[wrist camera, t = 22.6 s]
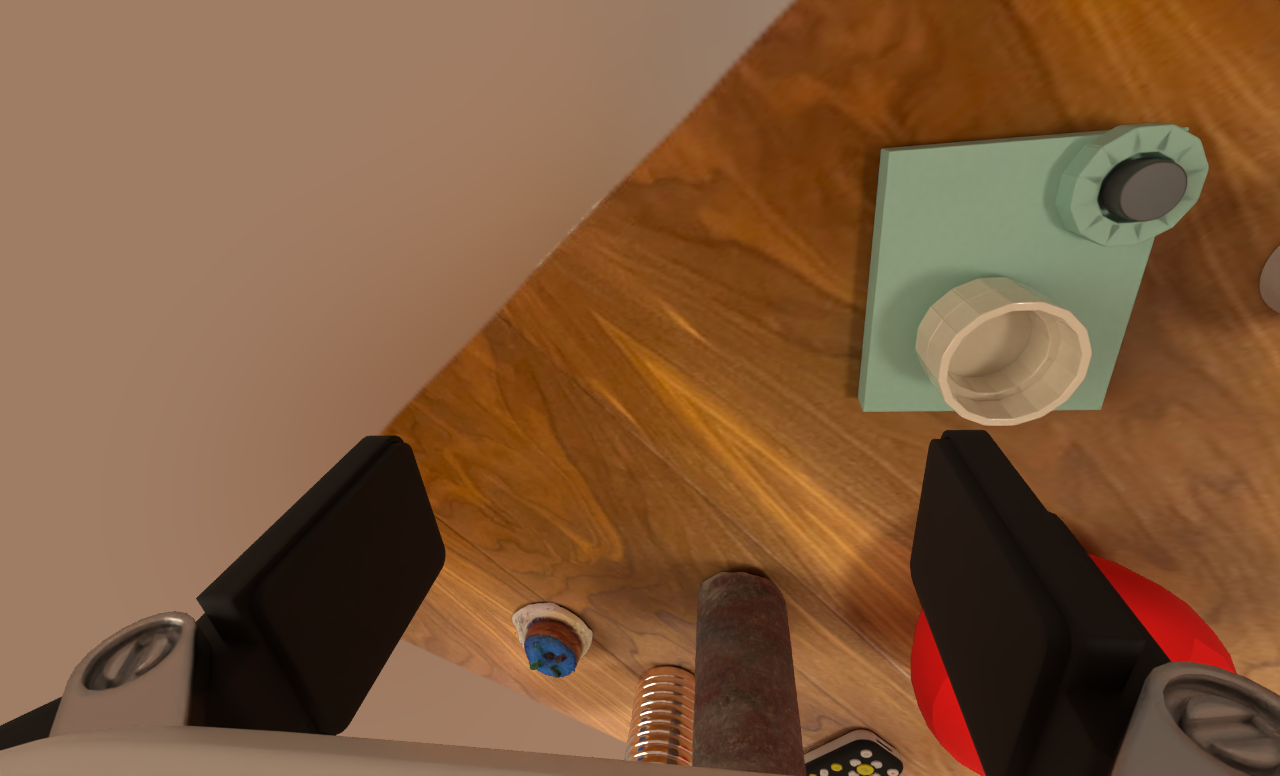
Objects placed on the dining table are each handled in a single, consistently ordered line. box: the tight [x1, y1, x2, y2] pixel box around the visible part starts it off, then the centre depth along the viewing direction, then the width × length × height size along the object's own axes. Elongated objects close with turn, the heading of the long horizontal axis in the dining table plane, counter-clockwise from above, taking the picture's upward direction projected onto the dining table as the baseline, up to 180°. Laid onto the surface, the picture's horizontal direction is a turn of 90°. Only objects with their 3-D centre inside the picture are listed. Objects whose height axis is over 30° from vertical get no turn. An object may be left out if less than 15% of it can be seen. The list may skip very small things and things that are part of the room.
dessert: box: [512, 602, 593, 678], centre depth 54 cm, size 8×7×6 cm
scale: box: [858, 123, 1209, 412], centre depth 33 cm, size 16×14×4 cm
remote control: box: [804, 730, 903, 776], centre depth 57 cm, size 6×13×2 cm, turn 141°
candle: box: [692, 572, 806, 776], centre depth 40 cm, size 8×7×20 cm
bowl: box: [915, 277, 1092, 426], centre depth 32 cm, size 7×7×5 cm
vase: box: [911, 553, 1237, 776], centre depth 36 cm, size 18×18×19 cm
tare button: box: [1102, 158, 1187, 222], centre depth 28 cm, size 3×3×2 cm
